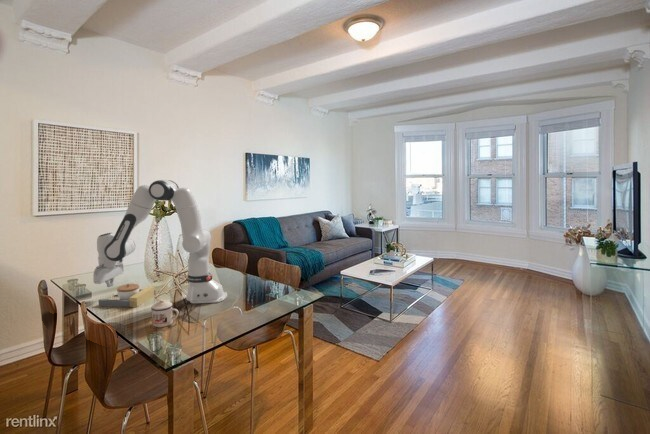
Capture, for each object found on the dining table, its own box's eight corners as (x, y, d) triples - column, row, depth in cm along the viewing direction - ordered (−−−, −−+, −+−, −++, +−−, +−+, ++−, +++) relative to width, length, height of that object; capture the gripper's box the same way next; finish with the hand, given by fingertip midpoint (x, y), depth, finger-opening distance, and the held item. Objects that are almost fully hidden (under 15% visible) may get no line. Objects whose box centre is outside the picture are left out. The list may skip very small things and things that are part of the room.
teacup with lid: (148, 327, 155) (147, 303, 153) (157, 319, 164) (156, 296, 162) (175, 327, 155) (174, 303, 154) (182, 319, 164) (181, 296, 163)
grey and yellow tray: (155, 294, 196) (155, 286, 196) (137, 306, 178) (136, 297, 178) (120, 293, 197) (120, 285, 196) (98, 305, 179) (98, 296, 179)
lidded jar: (117, 299, 189) (116, 283, 188) (138, 295, 195) (137, 279, 194) (118, 305, 180) (117, 288, 179) (141, 301, 186) (140, 284, 185)
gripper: (100, 267, 175) (102, 293, 177) (125, 257, 195) (127, 280, 197) (88, 267, 175) (91, 292, 177) (114, 257, 195) (116, 280, 197)
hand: (110, 286), depth 187 cm, fingers closed
